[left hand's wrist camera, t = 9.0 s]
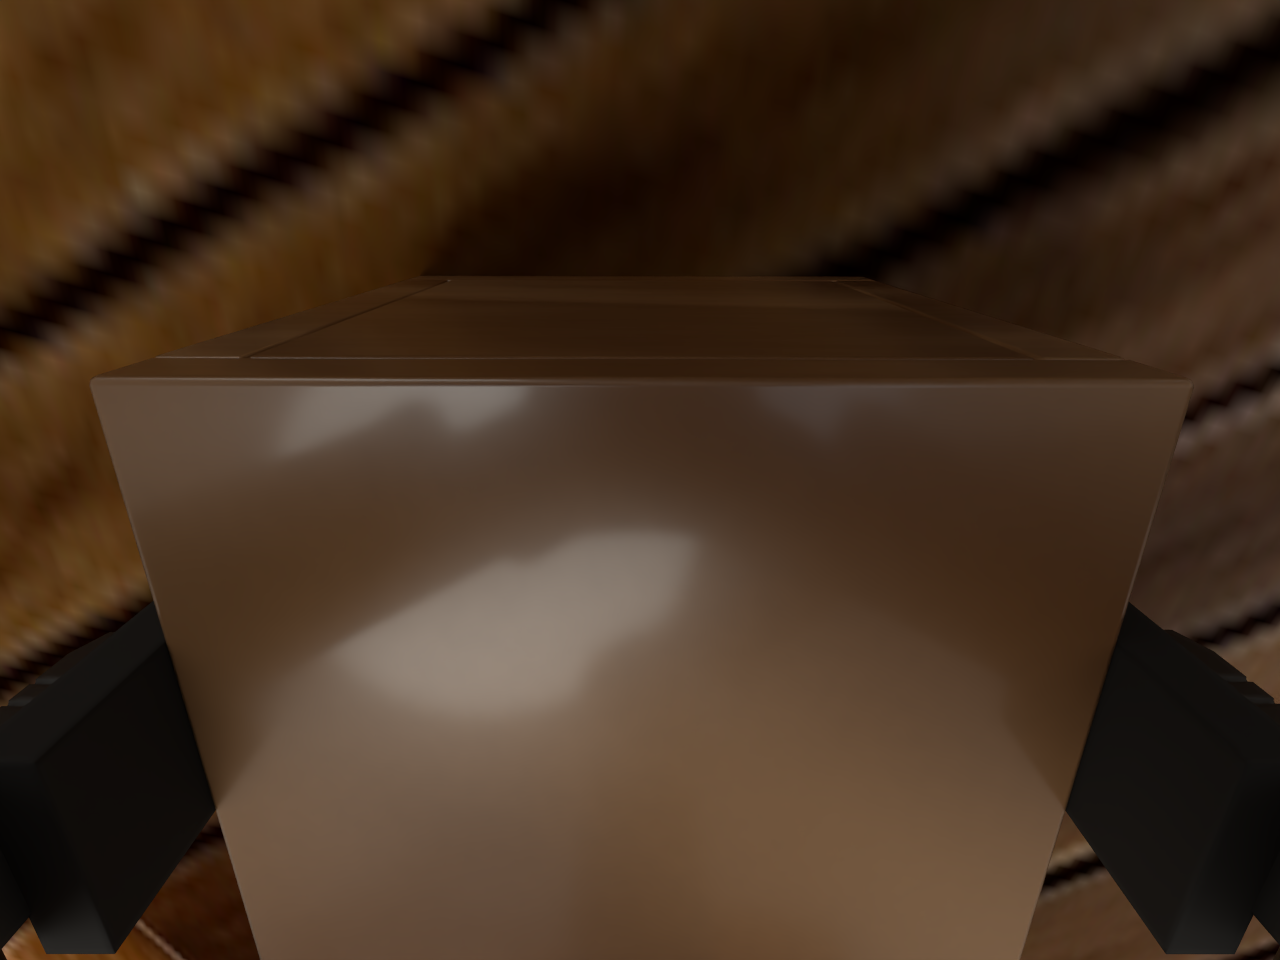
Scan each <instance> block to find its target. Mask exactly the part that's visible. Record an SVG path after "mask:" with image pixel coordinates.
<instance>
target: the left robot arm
mask: <svg viewBox="0 0 1280 960" xmlns="http://www.w3.org/2000/svg"><path fill="white" fill-rule="evenodd" d="M215 810H216V809H215V805H214V802H213V799H212V795H211V792H210V788H209V785H208V782H207V778H206V775H205V772H204V768H203V765H202V762H201V758H200V755H199V752H198V748H197V745H196V741H195V738H194V735H193V731H192V728H191V725H190V721H189V718H188V715H187V711H186V708H185V704H184V701H183V698H182V694H181V691H180V688H179V684H178V681H177V678H176V674H175V671H174V668H173V664H172V661H171V657H170V654H169V651H168V647H167V644H166V641H165V637H164V634H163V631H162V627H161V624H160V620H159V617H158V614H157V610H156V607H155V604H154V601H153V602H151V603H150V604H149V605H148V606H147V607H145V608H144V609H143V610H142V611H140V612H139V613H138V614H137V615H136V616H134V617H133V618H132V619H131V620H129V621H128V622H127V623H126V624H124V625H123V626H122V627H121V628H120V629H118V630H117V631H116V632H109V633H107V634H105V635H104V636H102V637H100V638H98V639H96V640H94V641H92V642H90V643H88V644H86V645H84V646H82V647H80V648H78V649H77V650H75V651H73V652H71V653H69V654H67V655H66V656H65V657H64V658H62V659H61V660H60V661H58V662H57V663H56V664H55V665H53V666H52V667H51V668H50V669H48V670H47V671H46V672H44V673H43V674H42V675H41V676H39V677H38V678H37V679H36V683H35V684H29V685H28V686H27V687H25V688H24V689H23V690H22V691H20V692H19V693H18V694H17V695H15V696H14V697H13V698H11V699H10V700H9V704H8V706H1V707H0V960H7V959H6V957H5V955H4V953H3V951H2V948H3V947H4V945H5V944H6V943H7V942H8V941H9V940H10V938H11V937H12V936H13V935H14V934H15V933H16V931H17V930H18V929H19V928H20V927H21V926H22V924H23V923H24V922H25V921H26V920H27V919H28V917H29V918H30V920H31V923H32V925H33V927H34V929H35V931H36V933H37V935H38V937H39V939H40V941H41V943H42V946H43V948H44V950H45V952H46V954H115V953H116V952H117V950H118V949H119V947H120V946H121V944H122V943H123V942H124V940H125V939H126V937H127V936H128V934H129V933H130V932H131V930H132V929H133V927H134V926H135V924H136V923H137V922H138V920H139V919H140V917H141V916H142V914H143V913H144V912H145V910H146V909H147V907H148V906H149V904H150V903H151V902H152V900H153V899H154V897H155V896H156V894H157V893H158V892H159V890H160V889H161V887H162V886H163V884H164V883H165V882H166V880H167V879H168V877H169V876H170V874H171V873H172V872H173V870H174V869H175V867H176V866H177V864H178V863H179V862H180V860H181V859H182V857H183V856H184V854H185V853H186V852H187V850H188V849H189V847H190V846H191V844H192V843H193V842H194V840H195V839H196V837H197V836H198V834H199V833H200V832H201V830H202V829H203V827H204V826H205V824H206V823H207V822H208V820H209V819H210V817H211V816H212V814H213V813H214V812H215ZM1066 812H1067V813H1068V815H1069V816H1070V818H1071V819H1072V820H1073V822H1074V823H1075V825H1076V826H1077V828H1078V829H1079V830H1080V832H1081V833H1082V835H1083V836H1084V838H1085V839H1086V840H1087V842H1088V843H1089V845H1090V846H1091V848H1092V849H1093V850H1094V852H1095V853H1096V855H1097V856H1098V858H1099V859H1100V860H1101V862H1102V863H1103V865H1104V866H1105V868H1106V869H1107V870H1108V872H1109V873H1110V875H1111V876H1112V878H1113V879H1114V880H1115V882H1116V883H1117V885H1118V886H1119V888H1120V889H1121V890H1122V892H1123V893H1124V895H1125V896H1126V898H1127V899H1128V900H1129V902H1130V903H1131V905H1132V906H1133V908H1134V909H1135V910H1136V912H1137V913H1138V915H1139V916H1140V918H1141V919H1142V920H1143V922H1144V923H1145V925H1146V926H1147V928H1148V929H1149V930H1150V932H1151V933H1152V935H1153V936H1154V938H1155V939H1156V940H1157V942H1158V943H1159V945H1160V946H1161V948H1162V949H1163V950H1164V952H1165V953H1166V954H1235V952H1236V950H1237V948H1238V946H1239V944H1240V942H1241V940H1242V938H1243V935H1244V933H1245V931H1246V929H1247V927H1248V925H1249V923H1250V921H1251V919H1252V917H1253V915H1254V916H1255V917H1256V918H1257V919H1258V920H1259V922H1260V923H1261V924H1262V925H1263V926H1264V927H1265V929H1266V930H1267V931H1268V932H1269V933H1270V934H1271V936H1272V937H1273V938H1274V939H1275V940H1276V941H1277V942H1278V944H1279V945H1280V704H1275V703H1274V698H1273V697H1271V696H1270V695H1269V694H1268V693H1266V692H1265V691H1264V690H1262V689H1261V688H1260V687H1259V686H1257V685H1256V684H1255V683H1254V682H1247V680H1246V676H1245V675H1243V674H1242V673H1241V672H1239V671H1238V670H1237V669H1236V668H1234V667H1233V666H1232V665H1230V664H1229V663H1228V662H1227V661H1225V660H1224V659H1223V658H1222V657H1220V656H1219V655H1218V654H1216V653H1215V652H1214V651H1212V650H1210V649H1208V648H1206V647H1204V646H1202V645H1200V644H1198V643H1196V642H1194V641H1192V640H1191V639H1189V638H1187V637H1185V636H1183V635H1181V634H1179V633H1177V632H1175V631H1173V630H1163V629H1161V628H1160V627H1159V626H1158V625H1156V624H1155V623H1154V622H1153V621H1152V620H1150V619H1149V618H1148V617H1147V616H1145V615H1144V614H1143V613H1142V612H1141V611H1139V610H1138V609H1137V608H1136V607H1134V606H1133V605H1132V604H1131V603H1129V602H1128V606H1127V609H1126V612H1125V615H1124V619H1123V622H1122V625H1121V629H1120V632H1119V635H1118V639H1117V642H1116V645H1115V648H1114V652H1113V655H1112V658H1111V662H1110V665H1109V668H1108V671H1107V675H1106V678H1105V681H1104V685H1103V688H1102V691H1101V695H1100V698H1099V701H1098V704H1097V708H1096V711H1095V714H1094V718H1093V721H1092V724H1091V727H1090V731H1089V734H1088V737H1087V741H1086V744H1085V747H1084V751H1083V754H1082V757H1081V760H1080V764H1079V767H1078V770H1077V774H1076V777H1075V780H1074V783H1073V787H1072V790H1071V793H1070V797H1069V800H1068V803H1067V807H1066ZM1273 960H1280V947H1279V949H1278V951H1277V953H1276V955H1275V957H1274V959H1273Z"/></svg>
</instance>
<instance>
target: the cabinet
mask: <svg viewBox="0 0 1280 960" xmlns="http://www.w3.org/2000/svg"><path fill="white" fill-rule="evenodd" d="M90 389H91V392H92V395H93V399H94V402H95V405H96V409H97V412H98V415H99V419H100V422H101V426H102V429H103V432H104V436H105V439H106V442H107V446H108V449H109V452H110V456H111V459H112V463H113V466H114V469H115V473H116V476H117V479H118V483H119V486H120V489H121V493H122V496H123V499H124V503H125V506H126V510H127V513H128V516H129V520H130V523H131V526H132V530H133V533H134V536H135V540H136V543H137V547H138V550H139V553H140V557H141V560H142V563H143V567H144V570H145V573H146V577H147V580H148V584H149V587H150V590H151V594H152V597H153V600H154V604H155V607H156V610H157V614H158V617H159V620H160V624H161V627H162V631H163V634H164V637H165V641H166V644H167V647H168V651H169V654H170V657H171V661H172V664H173V668H174V671H175V674H176V678H177V681H178V684H179V688H180V691H181V694H182V698H183V701H184V704H185V708H186V711H187V715H188V718H189V721H190V725H191V728H192V731H193V735H194V738H195V741H196V745H197V748H198V752H199V755H200V758H201V762H202V765H203V768H204V772H205V775H206V778H207V782H208V785H209V788H210V792H211V795H212V799H213V802H214V805H215V809H216V812H217V815H218V819H219V822H220V825H221V829H222V832H223V836H224V839H225V842H226V846H227V849H228V852H229V856H230V859H231V862H232V866H233V869H234V872H235V876H236V879H237V883H238V886H239V889H240V893H241V896H242V899H243V903H244V906H245V909H246V913H247V916H248V920H249V923H250V926H251V930H252V933H253V936H254V940H255V943H256V946H257V950H258V953H259V956H260V960H1020V958H1021V955H1022V951H1023V948H1024V945H1025V942H1026V938H1027V935H1028V932H1029V928H1030V925H1031V922H1032V919H1033V915H1034V912H1035V909H1036V905H1037V902H1038V899H1039V895H1040V892H1041V889H1042V886H1043V882H1044V879H1045V876H1046V872H1047V869H1048V866H1049V863H1050V859H1051V856H1052V853H1053V849H1054V846H1055V843H1056V839H1057V836H1058V833H1059V830H1060V826H1061V823H1062V820H1063V816H1064V813H1065V810H1066V807H1067V803H1068V800H1069V797H1070V793H1071V790H1072V787H1073V783H1074V780H1075V777H1076V774H1077V770H1078V767H1079V764H1080V760H1081V757H1082V754H1083V751H1084V747H1085V744H1086V741H1087V737H1088V734H1089V731H1090V727H1091V724H1092V721H1093V718H1094V714H1095V711H1096V708H1097V704H1098V701H1099V698H1100V695H1101V691H1102V688H1103V685H1104V681H1105V678H1106V675H1107V671H1108V668H1109V665H1110V662H1111V658H1112V655H1113V652H1114V648H1115V645H1116V642H1117V639H1118V635H1119V632H1120V629H1121V625H1122V622H1123V619H1124V615H1125V612H1126V609H1127V606H1128V602H1129V599H1130V596H1131V592H1132V589H1133V586H1134V583H1135V579H1136V576H1137V573H1138V569H1139V566H1140V563H1141V559H1142V556H1143V553H1144V550H1145V546H1146V543H1147V540H1148V536H1149V533H1150V530H1151V527H1152V523H1153V520H1154V517H1155V513H1156V510H1157V507H1158V503H1159V500H1160V497H1161V494H1162V490H1163V487H1164V484H1165V480H1166V477H1167V474H1168V471H1169V467H1170V464H1171V461H1172V457H1173V454H1174V451H1175V447H1176V444H1177V441H1178V438H1179V434H1180V431H1181V428H1182V424H1183V421H1184V418H1185V415H1186V411H1187V408H1188V405H1189V401H1190V398H1191V395H1192V391H1193V382H1192V381H1191V380H1189V379H1187V378H1185V377H1182V376H1179V375H1176V374H1172V373H1169V372H1166V371H1163V370H1160V369H1156V368H1153V367H1150V366H1147V365H1143V364H1140V363H1137V362H1134V361H1131V360H1125V359H1123V358H1121V357H1119V356H1115V355H1112V354H1109V353H1106V352H1102V351H1099V350H1096V349H1093V348H1090V347H1086V346H1083V345H1080V344H1077V343H1073V342H1070V341H1067V340H1064V339H1061V338H1057V337H1054V336H1051V335H1048V334H1044V333H1041V332H1038V331H1035V330H1032V329H1028V328H1025V327H1022V326H1019V325H1015V324H1012V323H1009V322H1006V321H1003V320H999V319H996V318H993V317H990V316H986V315H983V314H980V313H977V312H974V311H970V310H967V309H964V308H961V307H957V306H954V305H951V304H948V303H945V302H941V301H938V300H935V299H932V298H928V297H925V296H922V295H919V294H916V293H912V292H909V291H906V290H903V289H899V288H896V287H893V286H890V285H887V284H883V283H880V282H877V281H874V280H871V279H868V278H865V277H782V276H418V277H415V278H411V279H408V280H404V281H401V282H398V283H395V284H391V285H388V286H385V287H381V288H378V289H375V290H372V291H368V292H365V293H362V294H359V295H355V296H352V297H349V298H345V299H342V300H339V301H336V302H332V303H329V304H326V305H322V306H319V307H316V308H313V309H309V310H306V311H303V312H299V313H296V314H293V315H290V316H286V317H283V318H280V319H276V320H273V321H270V322H267V323H263V324H260V325H257V326H253V327H250V328H247V329H244V330H240V331H237V332H234V333H230V334H227V335H224V336H221V337H217V338H214V339H211V340H207V341H204V342H201V343H198V344H194V345H191V346H188V347H185V348H181V349H178V350H175V351H171V352H168V353H165V354H162V355H158V356H156V357H155V358H152V359H149V360H145V361H142V362H139V363H135V364H132V365H129V366H126V367H122V368H119V369H116V370H113V371H109V372H106V373H103V374H100V375H97V376H95V377H93V378H92V379H91V380H90Z"/></svg>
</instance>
